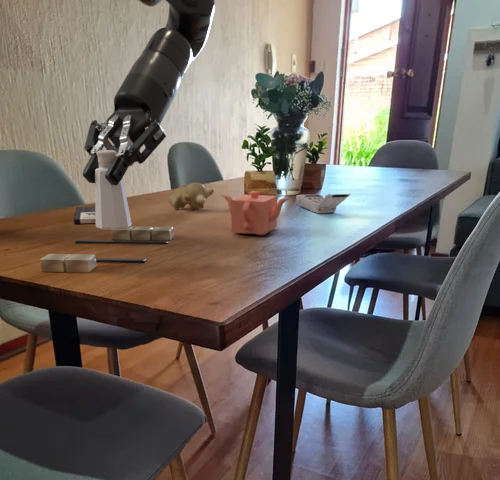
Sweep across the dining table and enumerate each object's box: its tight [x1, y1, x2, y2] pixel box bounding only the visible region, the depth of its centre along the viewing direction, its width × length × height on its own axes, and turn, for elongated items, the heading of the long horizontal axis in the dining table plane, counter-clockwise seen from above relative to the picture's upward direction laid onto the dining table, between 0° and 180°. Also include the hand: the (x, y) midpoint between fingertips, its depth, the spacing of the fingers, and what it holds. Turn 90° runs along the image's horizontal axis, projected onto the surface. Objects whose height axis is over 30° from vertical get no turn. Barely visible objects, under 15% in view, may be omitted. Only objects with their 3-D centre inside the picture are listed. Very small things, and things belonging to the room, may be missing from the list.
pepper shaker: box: [94, 149, 132, 230], centre depth 76 cm, size 5×5×11 cm
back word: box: [75, 225, 175, 245], centre depth 100 cm, size 18×7×2 cm, turn 86°
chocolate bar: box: [73, 205, 96, 225], centre depth 124 cm, size 9×1×18 cm
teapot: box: [220, 190, 291, 237], centre depth 106 cm, size 12×15×8 cm
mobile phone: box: [295, 192, 351, 215], centre depth 131 cm, size 6×6×25 cm
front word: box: [39, 253, 147, 273], centre depth 82 cm, size 15×7×2 cm, turn 86°
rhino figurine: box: [167, 182, 215, 211], centre depth 132 cm, size 8×7×12 cm
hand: (99, 180), depth 74 cm, fingers closed on pepper shaker, 4 cm apart
